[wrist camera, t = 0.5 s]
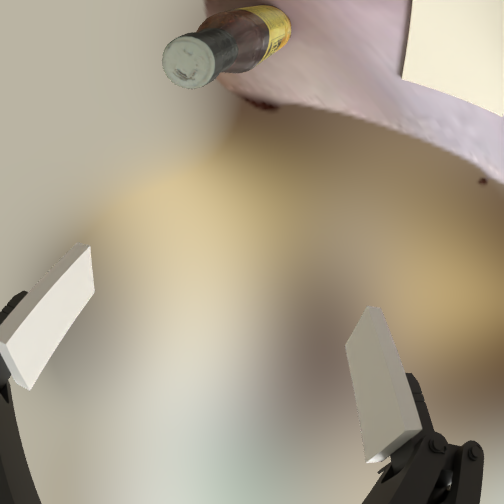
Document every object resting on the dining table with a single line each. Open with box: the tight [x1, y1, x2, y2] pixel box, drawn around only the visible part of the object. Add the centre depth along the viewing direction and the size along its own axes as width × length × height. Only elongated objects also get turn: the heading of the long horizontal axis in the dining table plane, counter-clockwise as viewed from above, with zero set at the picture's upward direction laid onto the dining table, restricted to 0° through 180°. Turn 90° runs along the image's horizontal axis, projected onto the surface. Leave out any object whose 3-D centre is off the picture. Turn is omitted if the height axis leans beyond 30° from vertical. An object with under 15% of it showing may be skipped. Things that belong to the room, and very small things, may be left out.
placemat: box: [402, 0, 504, 117], centre depth 18 cm, size 20×14×1 cm
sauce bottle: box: [162, 5, 291, 89], centre depth 23 cm, size 7×6×20 cm
